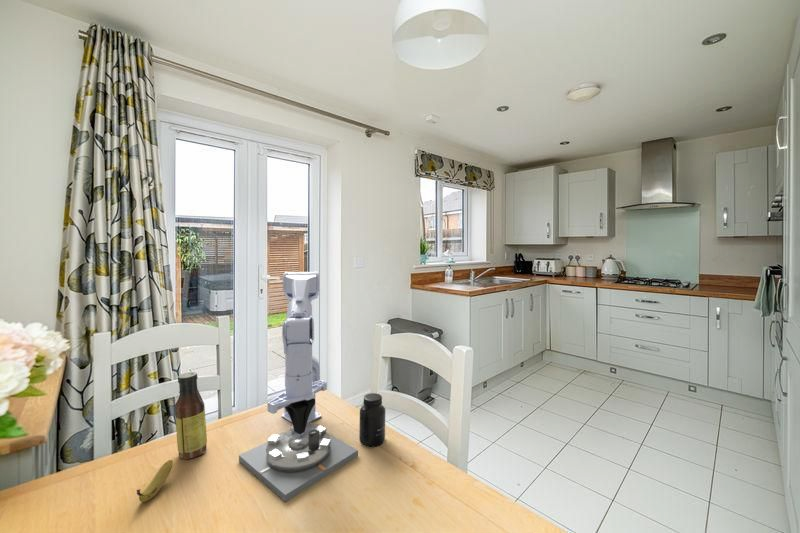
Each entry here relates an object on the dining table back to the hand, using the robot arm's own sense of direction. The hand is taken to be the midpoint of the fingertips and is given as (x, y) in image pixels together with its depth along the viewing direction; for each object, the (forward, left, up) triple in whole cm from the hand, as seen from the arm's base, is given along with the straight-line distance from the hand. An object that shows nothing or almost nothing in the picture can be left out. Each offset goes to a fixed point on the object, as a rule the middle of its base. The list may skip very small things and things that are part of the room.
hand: (299, 431), depth 77 cm
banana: (-18, -23, -11) cm, 31 cm away
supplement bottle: (+3, +20, -11) cm, 23 cm away
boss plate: (-5, +3, -10) cm, 12 cm away
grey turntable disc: (-6, +3, -9) cm, 11 cm away
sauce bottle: (-27, -13, -11) cm, 32 cm away
